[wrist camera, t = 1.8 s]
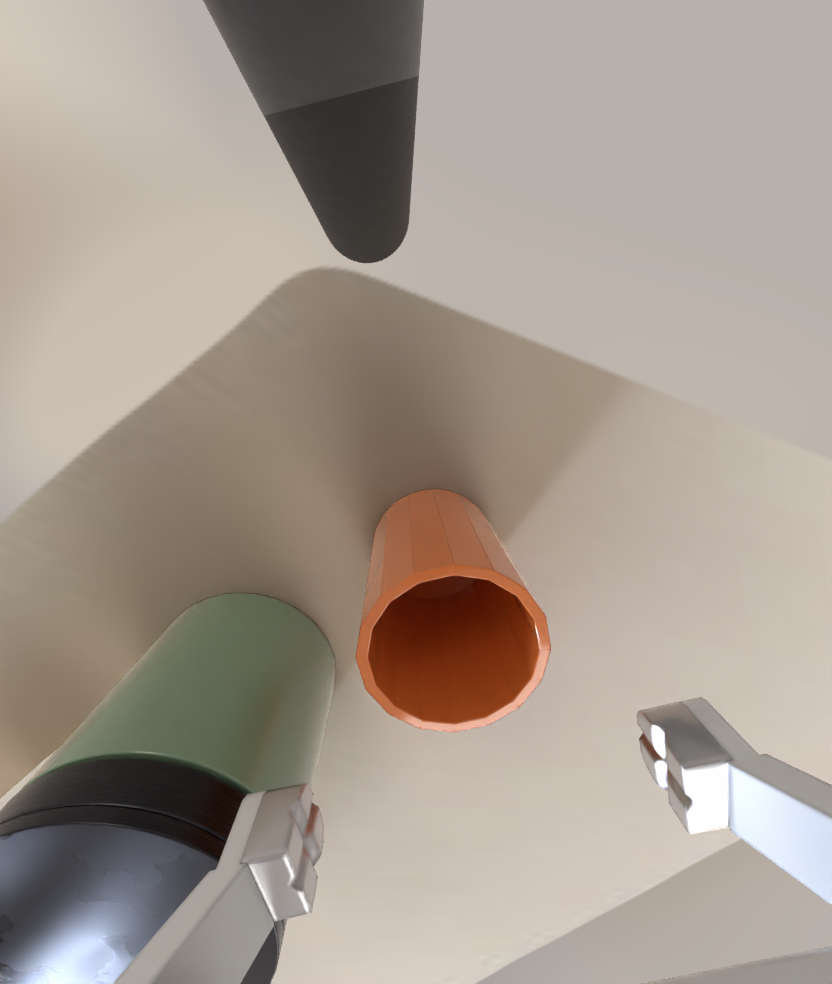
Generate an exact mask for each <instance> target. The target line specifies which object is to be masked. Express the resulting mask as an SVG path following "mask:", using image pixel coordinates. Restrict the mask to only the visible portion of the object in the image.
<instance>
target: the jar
mask: <svg viewBox="0 0 832 984" xmlns="http://www.w3.org/2000/svg"><path fill="white" fill-rule="evenodd" d="M335 676H336V668H335V660H334V656H333V653H332V650H331V648H330V645H329V643H328V641H327V639H326V638H325V636H324V634H323V633H322V632H321V630H320V629H319V628H318V627H317V625H316V624H315V623H314V622H313V621H312V620H311V619H309V618H308V617H307V616H306V615H305V614H303V613H302V612H301V611H299V610H298V609H296V608H294V607H292V606H291V605H289V604H287V603H284V602H282V601H280V600H277V599H274V598H271V597H267V596H263V595H257V594H248V593H234V594H225V595H219V596H215V597H212V598H208V599H205V600H203V601H201V602H199V603H196V604H195V605H193V606H191V607H190V608H188V609H186V610H185V611H184V612H183V613H182V614H180V615H179V616H178V617H177V618H176V619H175V620H174V621H173V623H172V624H171V625H170V626H169V627H168V628H167V629H166V630H165V631H164V632H163V634H162V635H161V636H160V637H159V638H158V639H157V640H156V641H155V642H154V643H153V645H152V646H151V647H150V648H149V649H148V650H147V651H146V652H145V653H144V654H143V656H142V657H141V658H140V659H139V660H138V661H137V662H136V663H135V664H134V665H133V667H132V668H131V669H130V670H129V671H128V672H127V673H126V674H125V675H124V676H123V678H122V679H121V680H120V681H119V682H118V683H117V684H116V685H115V686H114V687H113V689H112V690H111V691H110V692H109V693H108V694H107V695H106V696H105V697H104V698H103V700H102V701H101V702H100V703H99V704H98V705H97V706H96V707H95V708H94V709H93V711H92V712H91V713H90V714H89V715H88V716H87V717H86V718H85V719H84V720H83V722H82V723H81V724H80V725H79V726H78V727H77V728H76V729H75V730H74V731H73V733H72V734H71V735H70V736H69V737H68V738H67V739H66V740H65V741H64V742H63V744H62V745H61V746H60V747H59V748H58V749H57V750H56V751H55V752H54V753H53V755H52V756H51V757H50V758H49V759H48V760H47V761H46V762H45V763H44V764H43V766H42V767H41V768H40V769H39V770H38V771H37V772H36V773H35V774H34V775H33V777H32V778H31V779H30V780H29V781H28V782H27V783H26V784H25V785H24V786H23V788H24V787H26V786H27V785H29V784H31V783H32V782H34V781H36V780H38V779H39V778H41V777H43V776H45V775H47V774H49V773H52V772H54V771H57V770H59V769H61V768H65V767H68V766H72V765H75V764H79V763H83V762H89V761H96V760H102V759H119V758H130V759H148V760H155V761H162V762H168V763H172V764H176V765H180V766H184V767H188V768H191V769H194V770H197V771H200V772H203V773H206V774H208V775H211V776H213V777H215V778H217V779H219V780H221V781H223V782H225V783H227V784H229V785H231V786H232V787H234V788H235V789H237V790H239V791H240V792H242V793H244V794H245V795H247V794H252V793H257V792H262V791H267V790H271V789H277V788H282V787H287V786H293V785H298V784H304V783H309V784H310V787H311V789H312V790H313V786H314V781H315V776H316V771H317V766H318V762H319V757H320V752H321V747H322V742H323V737H324V733H325V728H326V723H327V718H328V713H329V708H330V704H331V699H332V694H333V689H334V684H335ZM23 788H22V789H23ZM22 789H21V790H22ZM21 790H20V791H21Z"/></svg>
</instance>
